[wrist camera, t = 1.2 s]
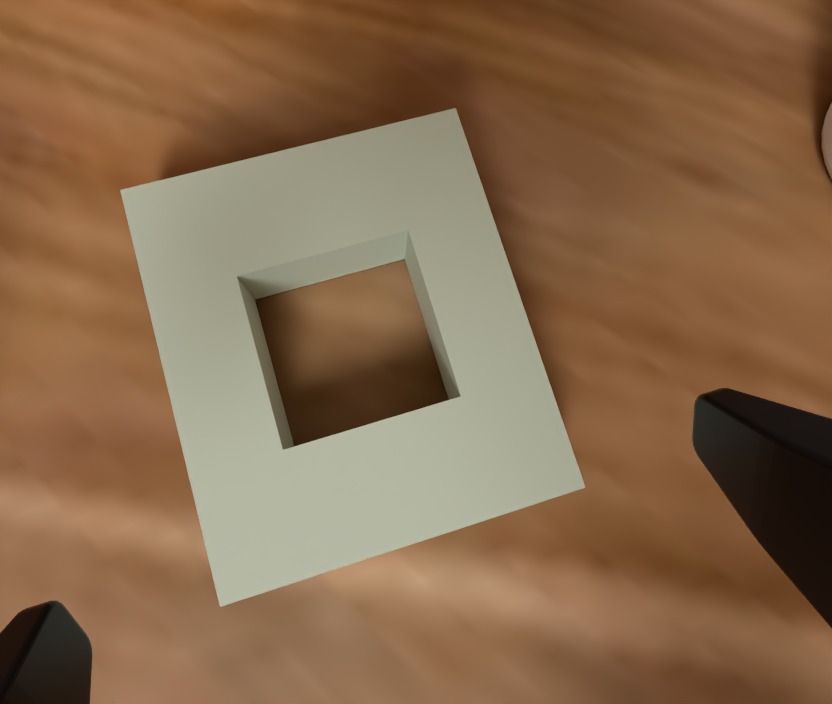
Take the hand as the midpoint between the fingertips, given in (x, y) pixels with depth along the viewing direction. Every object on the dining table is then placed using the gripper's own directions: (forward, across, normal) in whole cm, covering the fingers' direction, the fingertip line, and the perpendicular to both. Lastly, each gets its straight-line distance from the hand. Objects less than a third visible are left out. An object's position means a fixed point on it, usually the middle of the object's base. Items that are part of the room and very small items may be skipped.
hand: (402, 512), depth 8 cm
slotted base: (+14, 0, +5) cm, 15 cm away
